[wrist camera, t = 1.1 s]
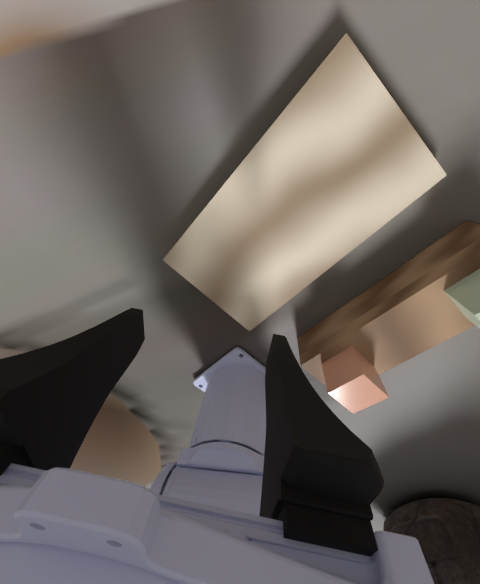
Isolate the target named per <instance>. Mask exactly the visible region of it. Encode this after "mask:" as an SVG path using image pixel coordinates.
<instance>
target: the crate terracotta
mask: <svg viewBox="0 0 480 584" xmlns="http://www.w3.org/2000/svg"><path fill="white" fill-rule="evenodd" d="M322 369H323V373H324V378H325V382H326V386H327V391H328V394H330V395H331V396H332V397H333V398H334V399H336V400H337V401H338V402H339V403H341V404H342V405H343V406H344V407H345V408H347V409H348V410H349V411H350V412H352V413H353V414H354V413H356V412H358V411H360V410H363V409H365V408H367V407H369V406H371V405H373V404H375V403H377V402H380V401H382V400H384V399H386V398H388V397H389V396H388V394H387V392H386V390H385V388H384V386H383V384H382V382H381V379H380V377H379V375H378V373H377V371H376V369H375V367H374V366H373V365H372V364H371V363H370V362H369V361H368V360H367V359H366V358H365V357H363V356H362V355H361V354H360V353H359V352H358V351H357V350H356V349H355V348H354V347H353V346H350V347H349V348H347V349H345V350H344V351H342V352H340V353H339V354H337V355H335V356H334V357H332V358H330V359H329V360H327V361H326V362H324V363H322Z"/></svg>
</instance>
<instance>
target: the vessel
mask: <svg viewBox="0 0 480 584" xmlns="http://www.w3.org/2000/svg"><path fill="white" fill-rule="evenodd" d="M384 531H387V532H392V533H396V534H401V535H406V536H411V537H414V538H416V539H417V540H418V542H419V545H420V547H421V550H422V553H423V555H424V558H425V561H426V563H427V566H428V568H429V571H430V574H431V576H432V579H433V582H434V584H480V506H479V505H476V504H472V503H468V502H465V501H461V500H456V499H451V498H426V499H422V500H417V501H413V502H410V503H407V504H405V505H403V506H401V507H399V508H398V509H396V510H395V511H393V512H392V513H391V514H390V515H389V516H388V517H387V518H386V520H385V522H384Z"/></svg>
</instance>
